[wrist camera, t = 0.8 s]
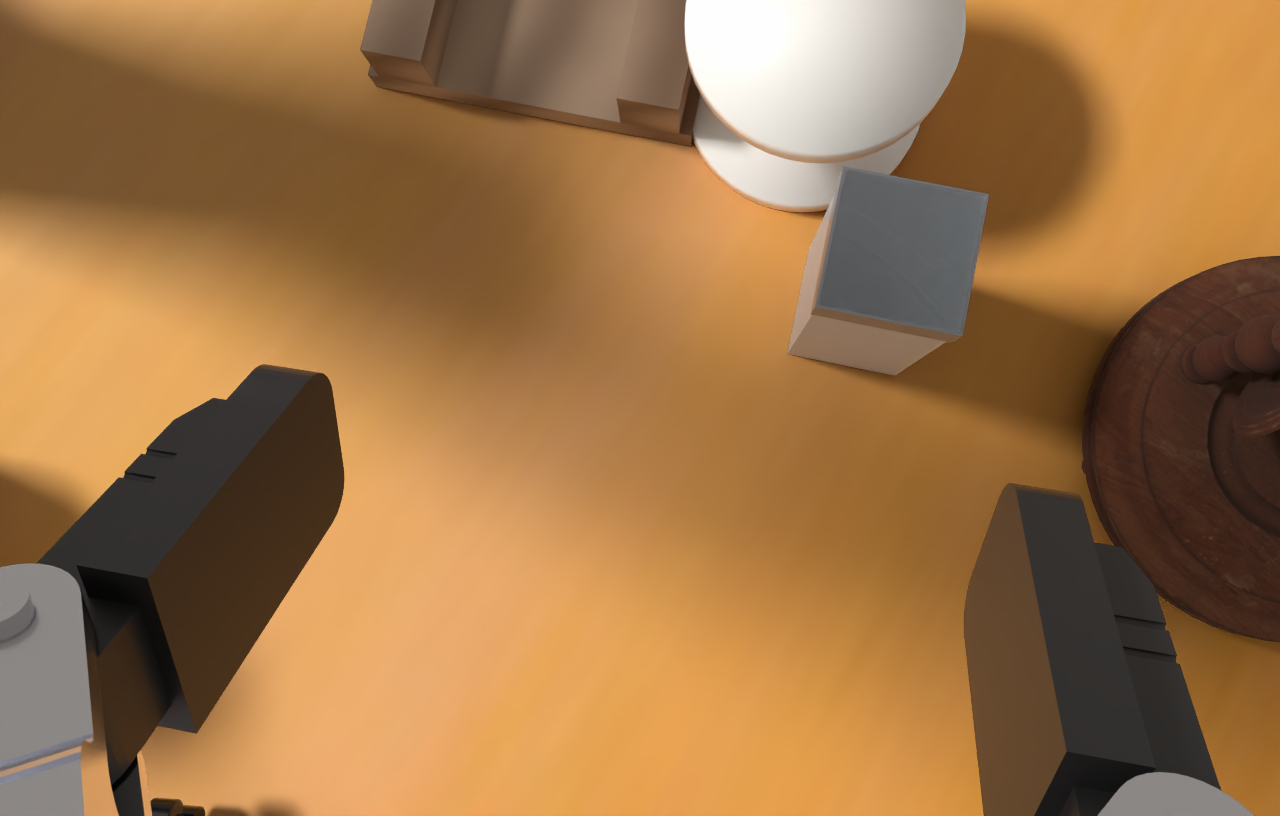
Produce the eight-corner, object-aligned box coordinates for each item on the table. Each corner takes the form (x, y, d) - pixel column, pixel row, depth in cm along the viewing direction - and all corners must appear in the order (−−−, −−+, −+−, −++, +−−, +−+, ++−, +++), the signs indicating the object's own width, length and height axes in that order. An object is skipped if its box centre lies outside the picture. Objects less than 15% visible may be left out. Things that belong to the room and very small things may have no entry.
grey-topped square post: (896, 378, 42) (962, 336, 32) (784, 355, 42) (814, 306, 32) (917, 269, 42) (989, 193, 32) (806, 247, 42) (843, 166, 32)
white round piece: (642, 60, 43) (634, -27, 36) (842, -54, 44) (872, -162, 37) (760, 255, 42) (775, 204, 35) (965, 137, 42) (1020, 64, 35)
